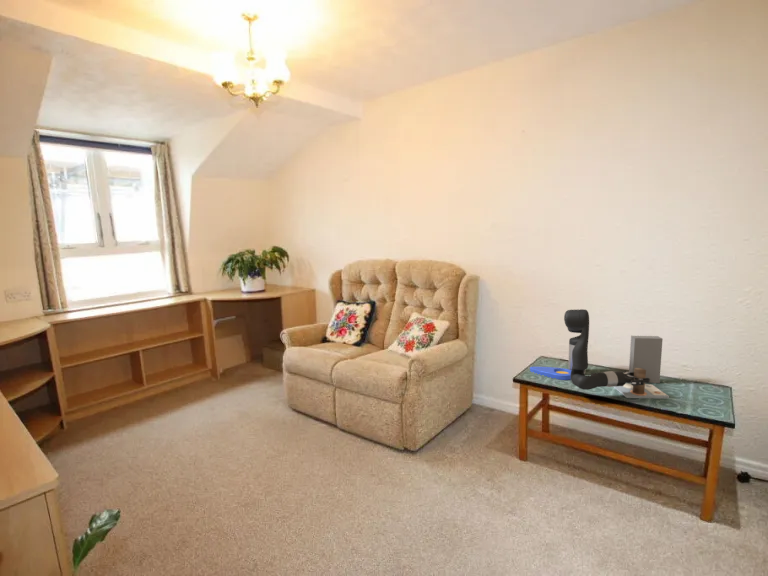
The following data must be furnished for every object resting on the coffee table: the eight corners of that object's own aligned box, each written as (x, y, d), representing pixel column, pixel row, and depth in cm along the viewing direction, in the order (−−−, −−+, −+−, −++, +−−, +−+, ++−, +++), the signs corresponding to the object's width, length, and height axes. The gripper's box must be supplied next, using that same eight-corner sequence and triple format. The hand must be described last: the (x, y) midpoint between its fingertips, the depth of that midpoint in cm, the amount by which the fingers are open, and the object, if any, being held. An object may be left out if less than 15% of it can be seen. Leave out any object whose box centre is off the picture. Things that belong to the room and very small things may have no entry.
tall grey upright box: (654, 379, 230) (657, 335, 227) (659, 383, 224) (663, 338, 221) (627, 378, 233) (630, 335, 229) (632, 382, 227) (634, 338, 223)
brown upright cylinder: (630, 390, 212) (632, 367, 211) (641, 390, 212) (642, 368, 210) (635, 394, 207) (637, 371, 206) (646, 394, 207) (648, 371, 205)
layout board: (612, 385, 223) (612, 383, 222) (651, 386, 221) (651, 383, 220) (626, 397, 207) (626, 394, 207) (668, 398, 205) (669, 395, 205)
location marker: (526, 375, 244) (572, 382, 230) (526, 369, 244) (572, 376, 229) (533, 368, 255) (577, 375, 240) (533, 363, 255) (577, 369, 240)
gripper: (622, 376, 200) (653, 374, 201) (604, 367, 214) (633, 365, 215) (621, 391, 201) (652, 389, 202) (603, 380, 215) (633, 379, 216)
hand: (643, 377), depth 209 cm, fingers open, 8 cm apart
